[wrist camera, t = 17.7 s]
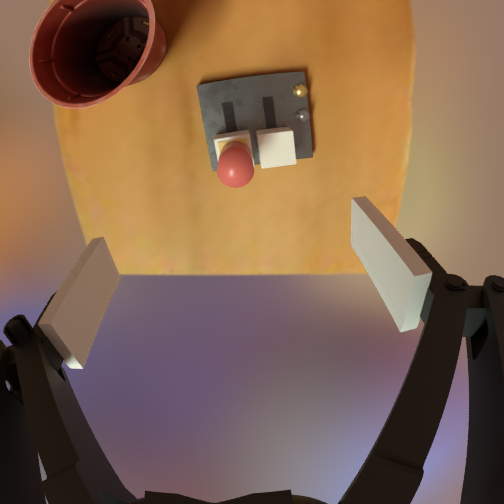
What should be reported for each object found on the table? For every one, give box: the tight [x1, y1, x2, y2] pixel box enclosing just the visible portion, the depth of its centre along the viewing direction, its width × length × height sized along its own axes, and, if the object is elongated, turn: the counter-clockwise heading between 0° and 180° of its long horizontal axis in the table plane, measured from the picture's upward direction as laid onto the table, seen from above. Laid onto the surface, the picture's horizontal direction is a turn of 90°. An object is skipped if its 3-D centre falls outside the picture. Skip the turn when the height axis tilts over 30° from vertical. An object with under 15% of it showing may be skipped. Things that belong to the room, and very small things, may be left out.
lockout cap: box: [217, 141, 254, 188], centre depth 38 cm, size 4×4×7 cm
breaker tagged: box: [214, 130, 255, 168], centre depth 43 cm, size 5×5×4 cm
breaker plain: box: [256, 127, 296, 168], centre depth 43 cm, size 5×5×4 cm
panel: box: [197, 71, 313, 171], centre depth 43 cm, size 14×16×2 cm
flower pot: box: [29, 0, 167, 109], centre depth 29 cm, size 16×16×16 cm
